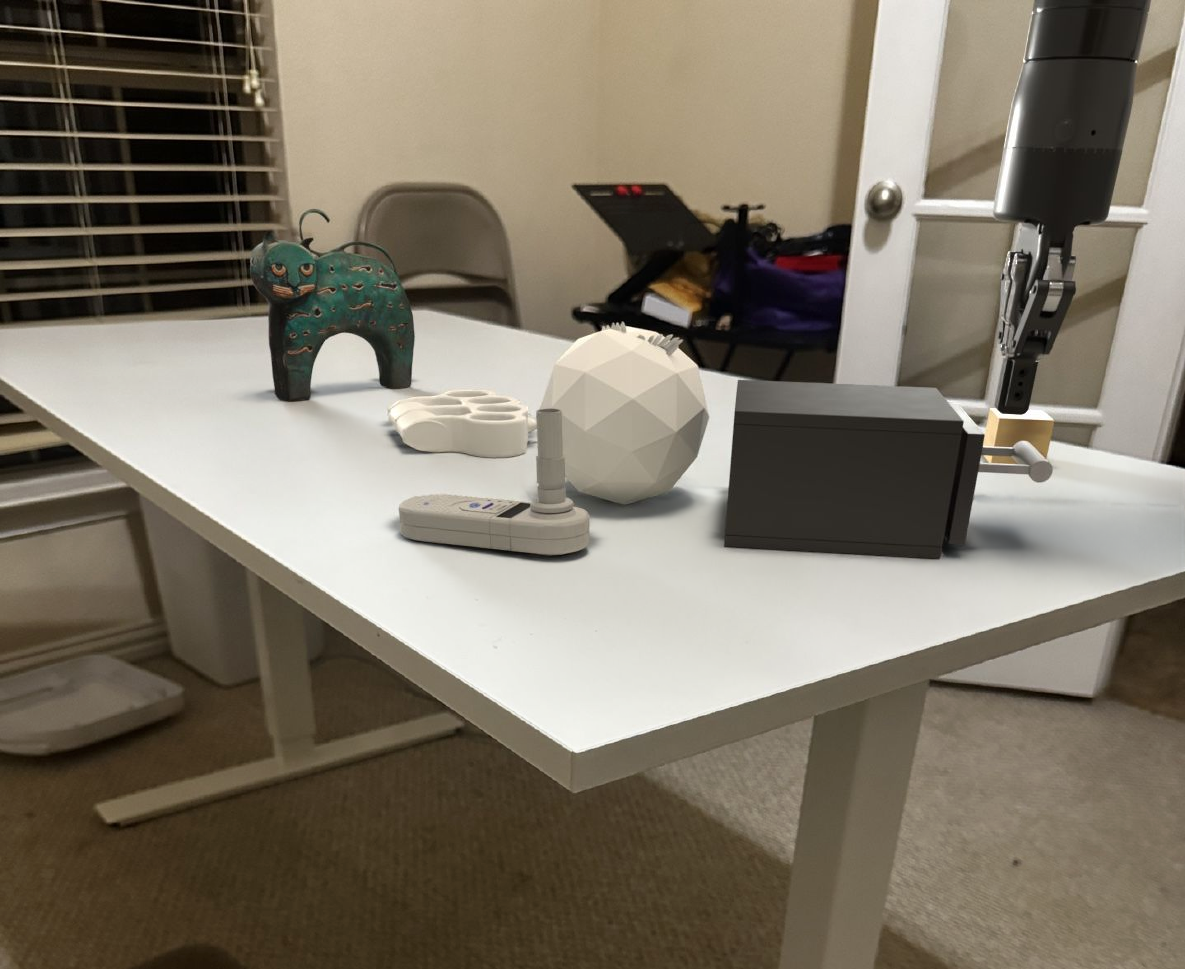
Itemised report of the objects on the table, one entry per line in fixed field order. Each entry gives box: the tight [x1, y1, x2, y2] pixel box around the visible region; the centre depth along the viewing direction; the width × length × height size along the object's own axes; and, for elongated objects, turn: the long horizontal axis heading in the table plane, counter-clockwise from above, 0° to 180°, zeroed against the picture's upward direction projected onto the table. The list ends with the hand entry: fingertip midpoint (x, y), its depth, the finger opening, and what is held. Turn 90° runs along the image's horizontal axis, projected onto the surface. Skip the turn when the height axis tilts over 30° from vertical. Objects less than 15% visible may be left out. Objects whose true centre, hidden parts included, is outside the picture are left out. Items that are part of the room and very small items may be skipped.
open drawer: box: [944, 401, 1054, 546], centre depth 86 cm, size 20×13×8 cm, turn 83°
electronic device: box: [398, 408, 591, 556], centre depth 82 cm, size 5×10×15 cm
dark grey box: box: [723, 379, 964, 560], centre depth 87 cm, size 16×14×10 cm
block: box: [982, 407, 1055, 464], centre depth 108 cm, size 5×5×5 cm
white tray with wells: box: [387, 388, 537, 459], centre depth 115 cm, size 3×18×15 cm
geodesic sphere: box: [539, 321, 710, 506], centre depth 93 cm, size 15×14×14 cm
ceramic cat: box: [249, 208, 416, 402], centre depth 133 cm, size 20×6×20 cm, turn 132°
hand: (1010, 412), depth 84 cm, fingers closed
